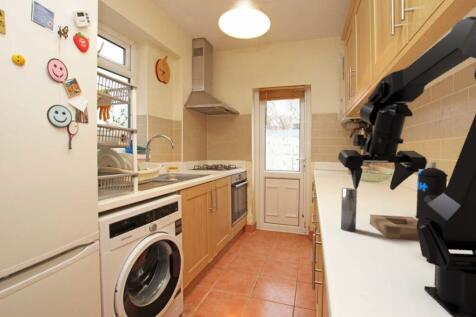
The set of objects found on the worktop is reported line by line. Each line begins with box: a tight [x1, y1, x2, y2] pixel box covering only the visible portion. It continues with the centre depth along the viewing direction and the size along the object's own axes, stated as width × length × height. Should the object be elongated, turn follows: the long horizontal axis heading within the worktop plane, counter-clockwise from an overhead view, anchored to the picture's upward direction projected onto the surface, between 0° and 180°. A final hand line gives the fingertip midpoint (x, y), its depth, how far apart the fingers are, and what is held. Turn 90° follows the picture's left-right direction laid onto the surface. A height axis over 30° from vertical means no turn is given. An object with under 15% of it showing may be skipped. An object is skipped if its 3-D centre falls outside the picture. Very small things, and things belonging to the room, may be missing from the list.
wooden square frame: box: [369, 214, 419, 241], centre depth 67 cm, size 12×12×3 cm
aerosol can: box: [414, 161, 449, 220], centre depth 79 cm, size 8×8×20 cm
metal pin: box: [340, 187, 358, 233], centre depth 68 cm, size 4×4×12 cm
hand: (373, 188), depth 61 cm, fingers open, 9 cm apart
